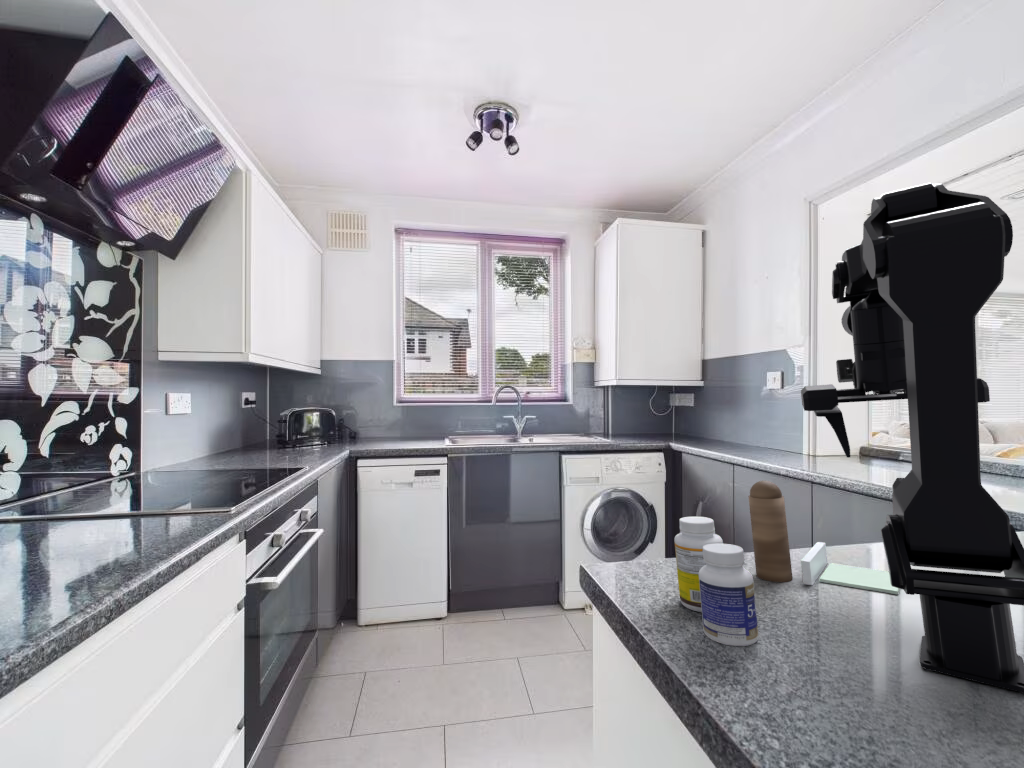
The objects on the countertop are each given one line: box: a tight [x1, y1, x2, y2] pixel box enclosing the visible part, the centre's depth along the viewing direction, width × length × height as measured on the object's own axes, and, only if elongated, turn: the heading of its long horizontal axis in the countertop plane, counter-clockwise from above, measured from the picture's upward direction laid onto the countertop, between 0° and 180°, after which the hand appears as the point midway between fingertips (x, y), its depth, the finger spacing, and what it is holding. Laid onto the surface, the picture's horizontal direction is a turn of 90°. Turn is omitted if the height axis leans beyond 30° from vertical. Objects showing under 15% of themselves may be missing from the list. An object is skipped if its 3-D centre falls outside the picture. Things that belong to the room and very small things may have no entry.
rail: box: [800, 541, 829, 586], centre depth 64 cm, size 11×1×3 cm, turn 137°
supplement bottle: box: [673, 516, 724, 613], centre depth 56 cm, size 6×6×10 cm
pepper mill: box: [748, 480, 794, 583], centre depth 64 cm, size 4×4×13 cm
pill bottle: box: [699, 543, 760, 647], centre depth 48 cm, size 5×5×9 cm
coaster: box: [819, 562, 901, 595], centre depth 61 cm, size 8×8×1 cm
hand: (890, 456), depth 62 cm, fingers open, 9 cm apart
